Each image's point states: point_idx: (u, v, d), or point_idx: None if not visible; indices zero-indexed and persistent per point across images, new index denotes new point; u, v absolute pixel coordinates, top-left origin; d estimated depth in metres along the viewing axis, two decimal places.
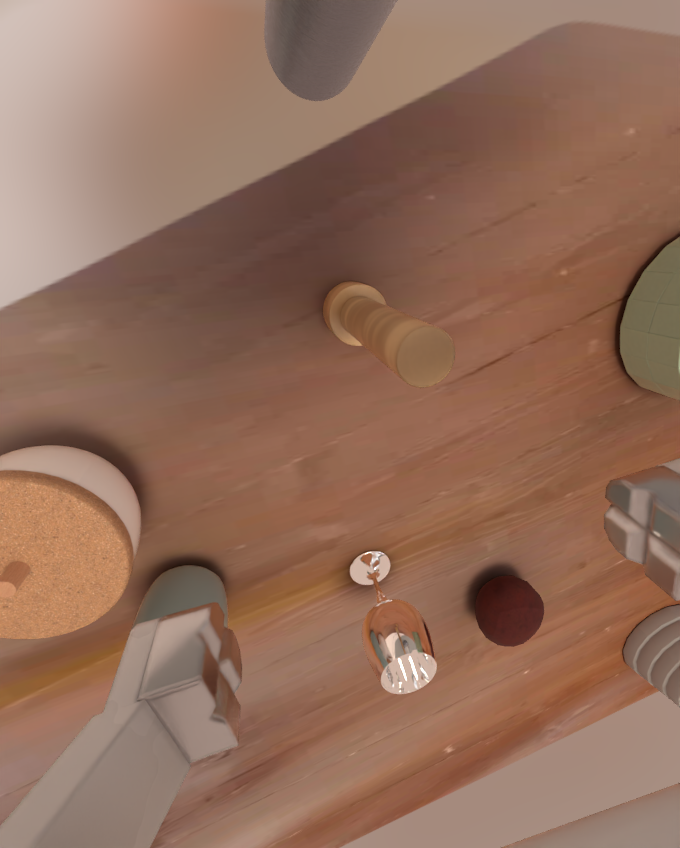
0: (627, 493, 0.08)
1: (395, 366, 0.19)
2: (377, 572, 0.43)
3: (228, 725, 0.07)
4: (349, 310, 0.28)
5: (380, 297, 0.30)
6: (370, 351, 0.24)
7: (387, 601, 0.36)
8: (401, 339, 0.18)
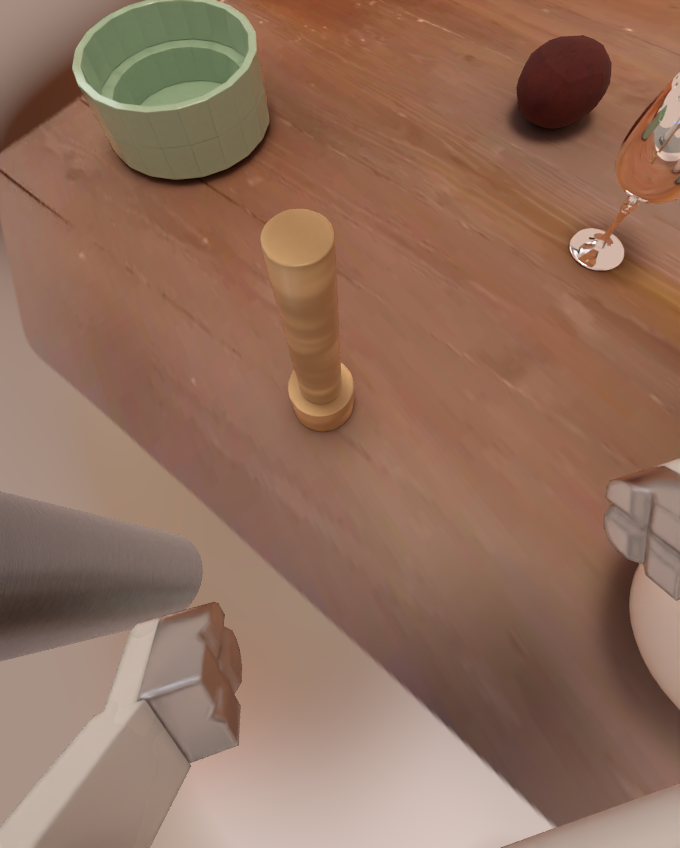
0: (627, 493, 0.08)
1: (321, 262, 0.15)
2: (597, 237, 0.34)
3: (228, 725, 0.07)
4: (315, 389, 0.25)
5: (294, 374, 0.28)
6: (336, 331, 0.21)
7: (627, 189, 0.28)
8: (289, 270, 0.15)
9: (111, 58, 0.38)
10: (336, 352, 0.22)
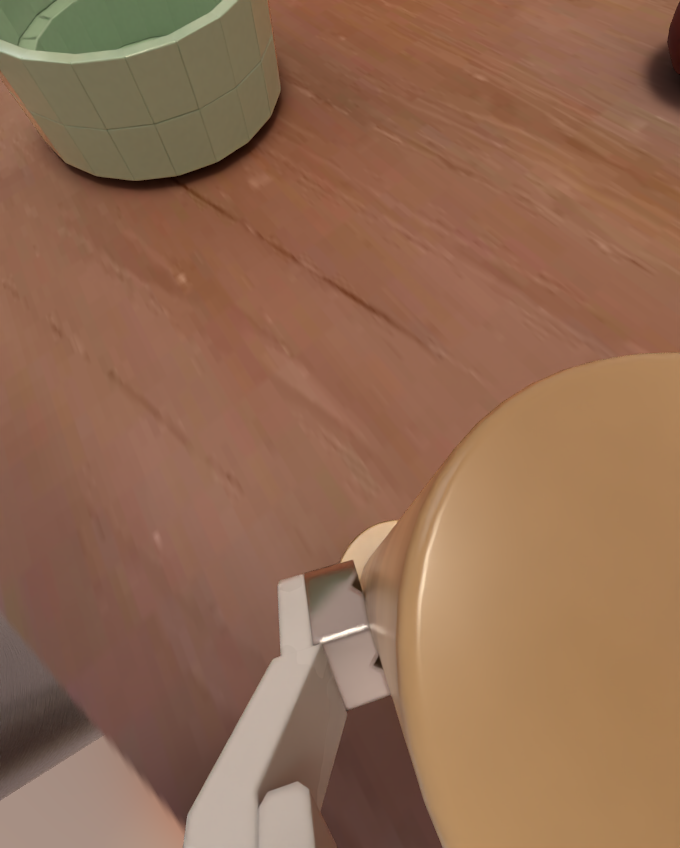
0: None
1: None
2: None
3: None
4: None
5: (346, 560, 0.14)
6: None
7: None
8: None
9: None
10: None
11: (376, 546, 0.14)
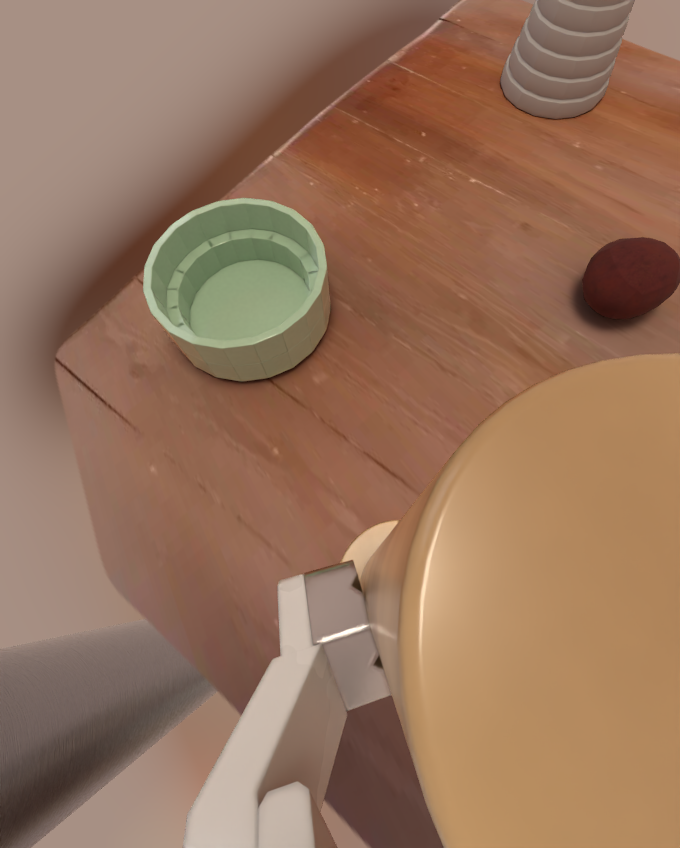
0: None
1: None
2: None
3: None
4: None
5: (347, 560, 0.14)
6: None
7: None
8: None
9: (174, 259, 0.38)
10: None
11: (376, 546, 0.14)
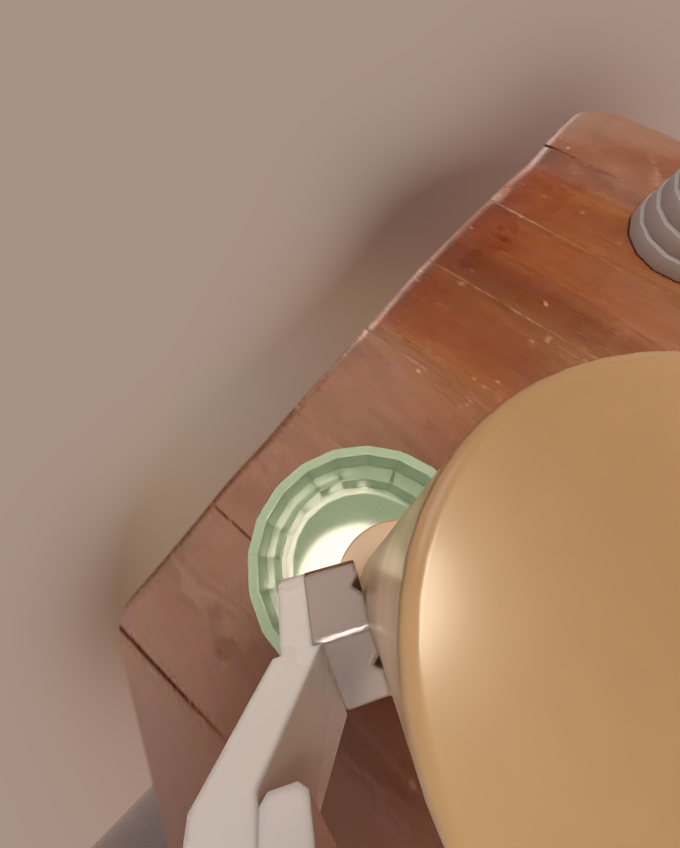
0: None
1: None
2: None
3: None
4: None
5: (346, 560, 0.14)
6: None
7: None
8: None
9: (276, 519, 0.30)
10: None
11: (376, 546, 0.14)
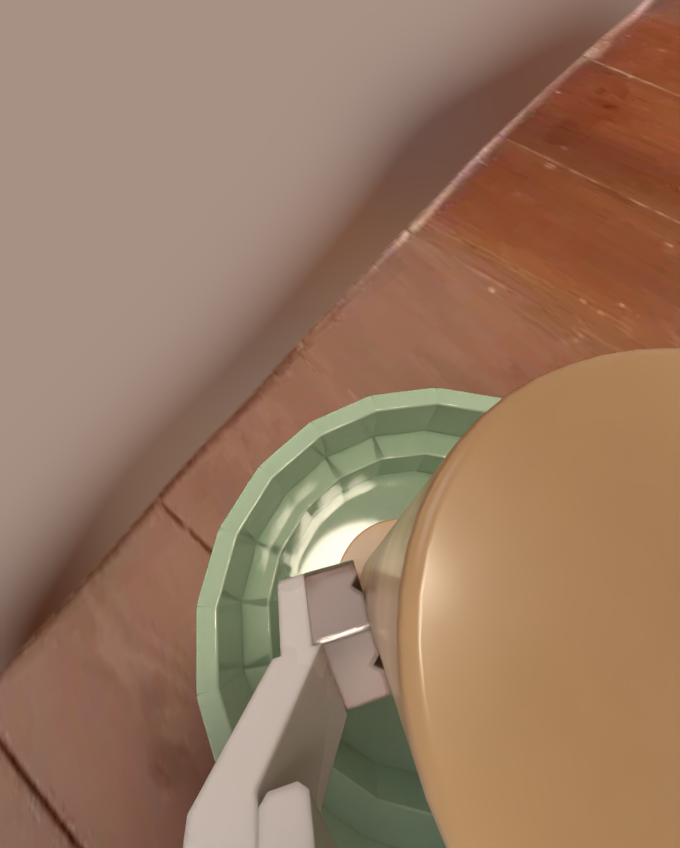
0: None
1: None
2: None
3: None
4: None
5: (346, 559, 0.14)
6: None
7: None
8: None
9: (260, 528, 0.16)
10: None
11: (376, 545, 0.14)
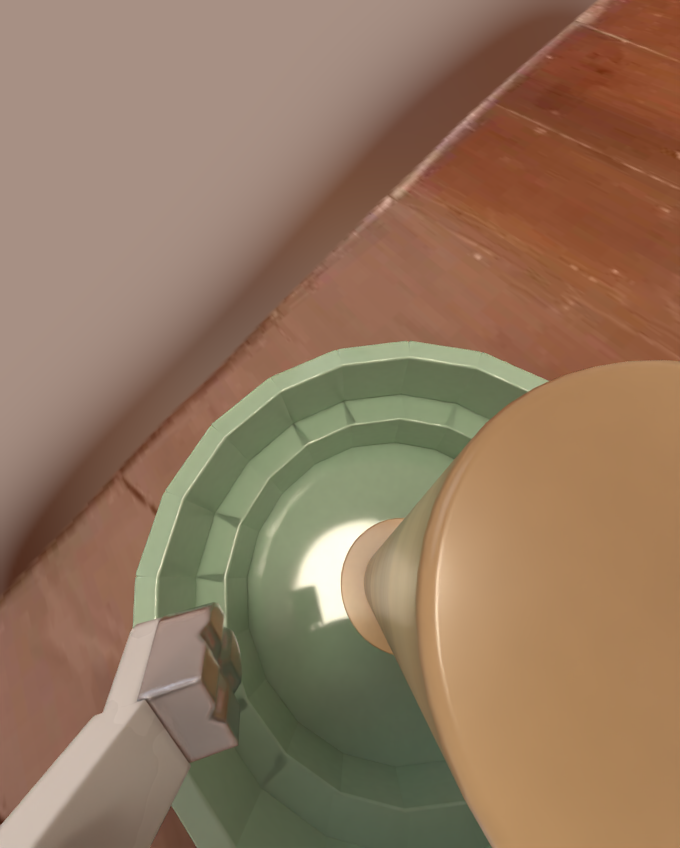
0: None
1: None
2: None
3: (228, 725, 0.07)
4: None
5: (351, 557, 0.14)
6: None
7: None
8: None
9: (217, 497, 0.15)
10: None
11: (380, 544, 0.15)
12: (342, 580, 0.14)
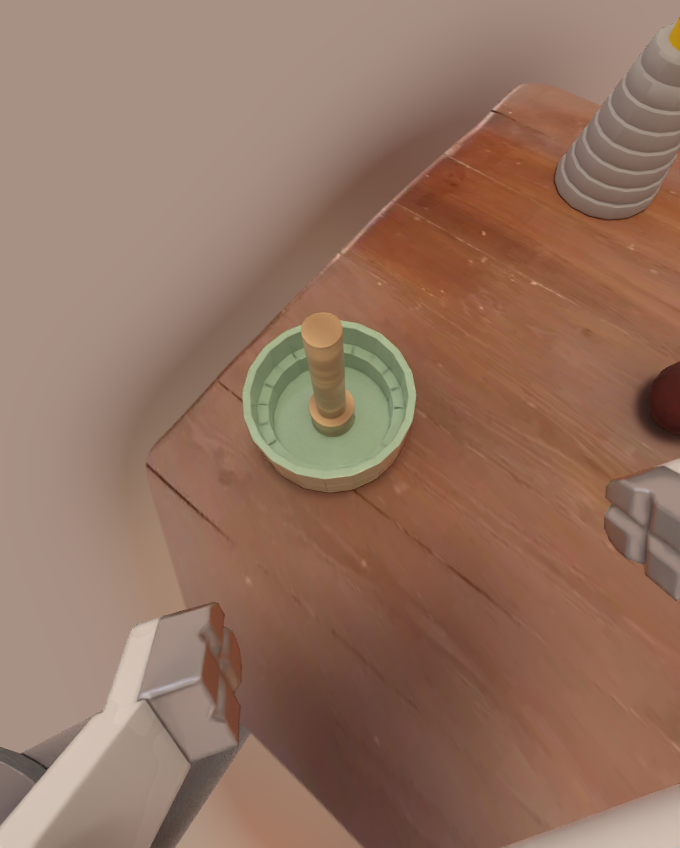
0: (627, 493, 0.08)
1: (335, 344, 0.27)
2: None
3: (228, 725, 0.07)
4: (329, 408, 0.37)
5: (312, 397, 0.40)
6: (343, 374, 0.33)
7: None
8: (317, 349, 0.27)
9: (264, 376, 0.40)
10: (343, 386, 0.34)
11: None
12: (309, 404, 0.40)
